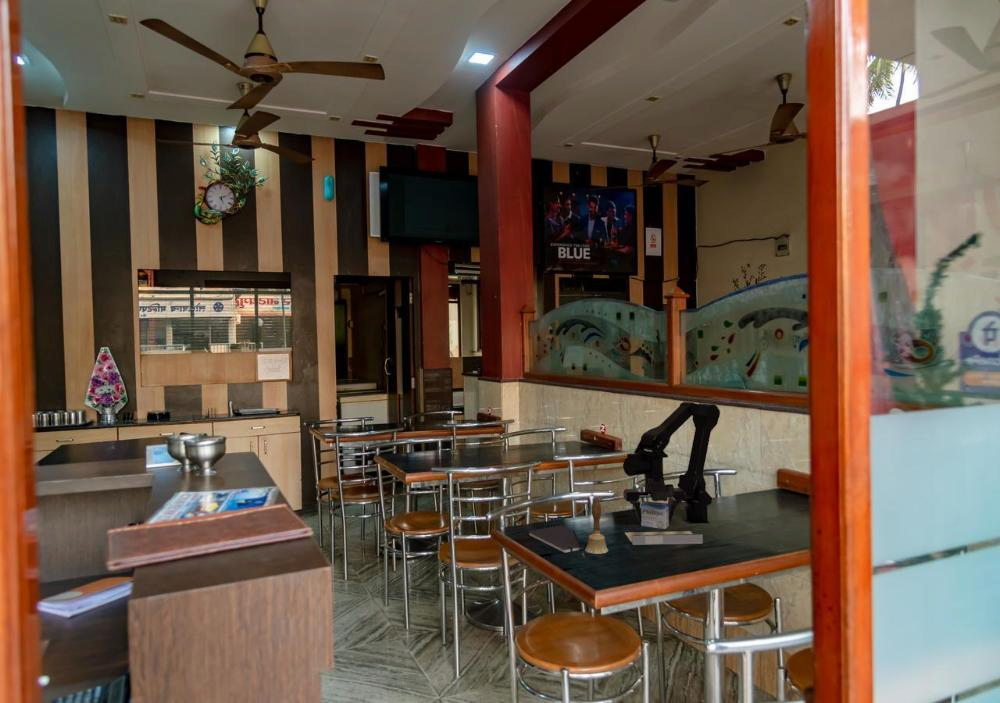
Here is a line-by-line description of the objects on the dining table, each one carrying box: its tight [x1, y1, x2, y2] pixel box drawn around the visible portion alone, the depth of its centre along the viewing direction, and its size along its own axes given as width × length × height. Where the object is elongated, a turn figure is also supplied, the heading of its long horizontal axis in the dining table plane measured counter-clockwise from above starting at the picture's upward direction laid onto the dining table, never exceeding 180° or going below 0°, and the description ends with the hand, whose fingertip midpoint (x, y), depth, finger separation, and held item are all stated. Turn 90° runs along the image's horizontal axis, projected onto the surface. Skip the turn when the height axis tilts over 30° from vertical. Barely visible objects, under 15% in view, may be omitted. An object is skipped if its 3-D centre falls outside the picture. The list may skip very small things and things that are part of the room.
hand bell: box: [581, 497, 609, 558], centre depth 175 cm, size 8×8×16 cm
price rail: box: [631, 533, 704, 546], centre depth 179 cm, size 20×1×2 cm, turn 90°
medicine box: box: [640, 500, 670, 530], centre depth 198 cm, size 8×4×9 cm, turn 62°
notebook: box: [528, 525, 583, 553], centre depth 190 cm, size 13×2×21 cm
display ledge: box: [624, 530, 700, 546], centre depth 184 cm, size 20×12×2 cm, turn 90°
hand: (654, 521), depth 198 cm, fingers open, 9 cm apart
